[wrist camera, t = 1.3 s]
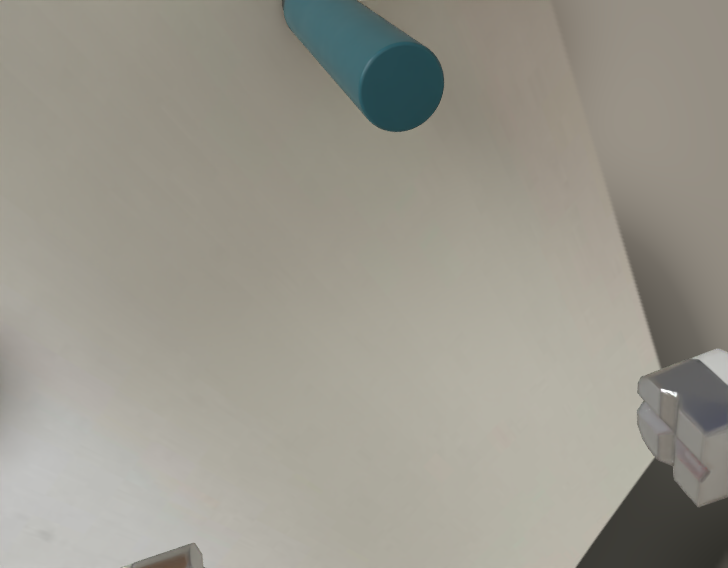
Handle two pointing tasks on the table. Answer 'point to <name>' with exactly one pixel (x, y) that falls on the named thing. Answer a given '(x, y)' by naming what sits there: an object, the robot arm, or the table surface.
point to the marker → (370, 60)
